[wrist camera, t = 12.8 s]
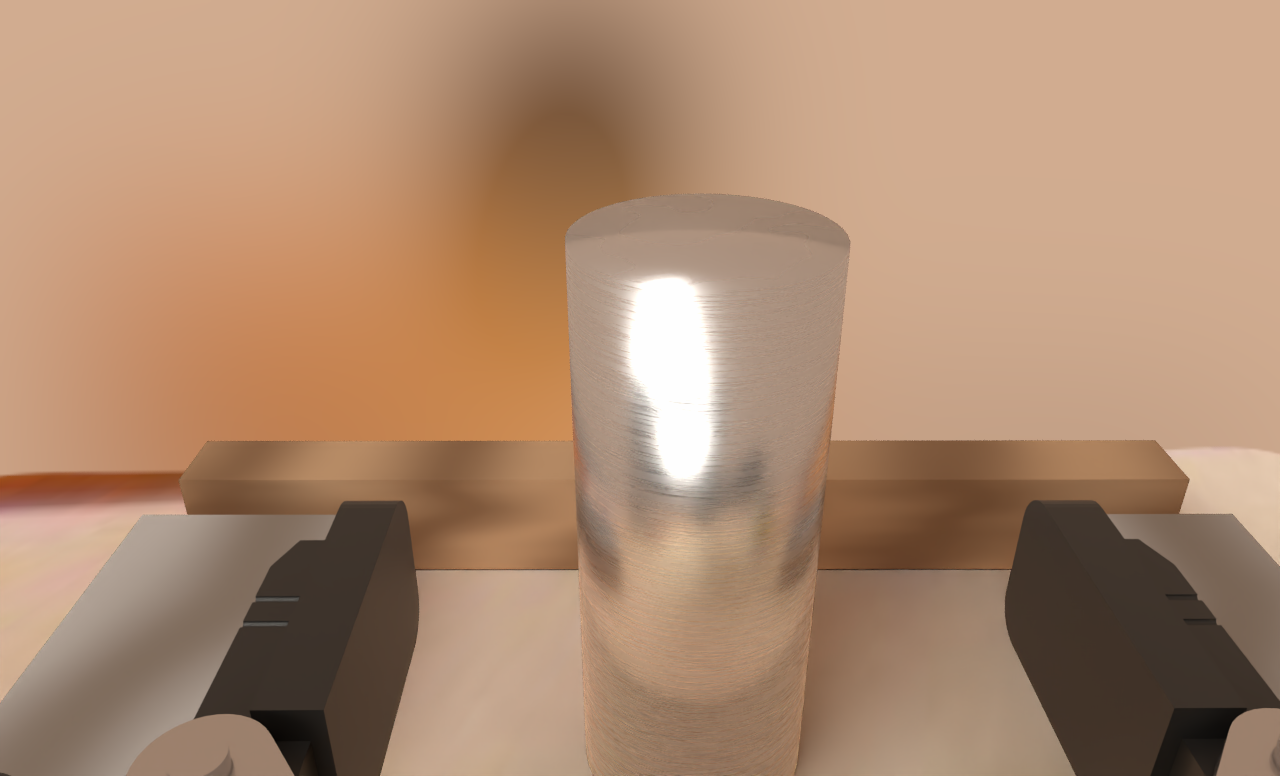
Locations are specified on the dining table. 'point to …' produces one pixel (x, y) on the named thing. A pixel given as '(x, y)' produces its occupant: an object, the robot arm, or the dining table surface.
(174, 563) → the rail with metal-top blocks
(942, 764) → the dining table surface
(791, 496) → the link pin
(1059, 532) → the robot arm
